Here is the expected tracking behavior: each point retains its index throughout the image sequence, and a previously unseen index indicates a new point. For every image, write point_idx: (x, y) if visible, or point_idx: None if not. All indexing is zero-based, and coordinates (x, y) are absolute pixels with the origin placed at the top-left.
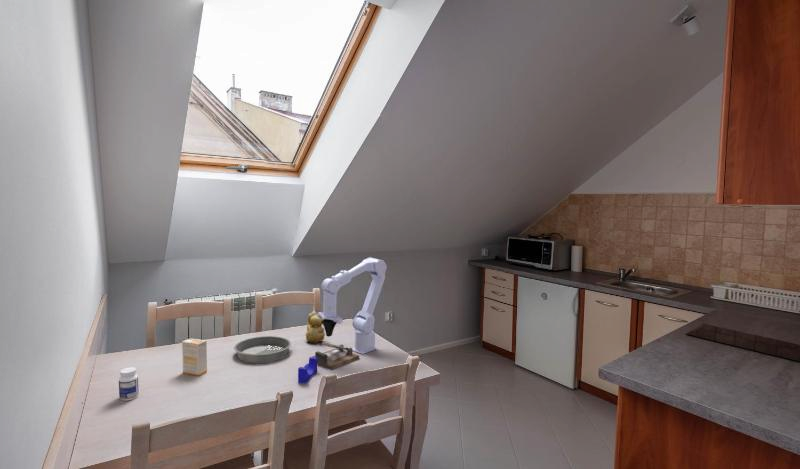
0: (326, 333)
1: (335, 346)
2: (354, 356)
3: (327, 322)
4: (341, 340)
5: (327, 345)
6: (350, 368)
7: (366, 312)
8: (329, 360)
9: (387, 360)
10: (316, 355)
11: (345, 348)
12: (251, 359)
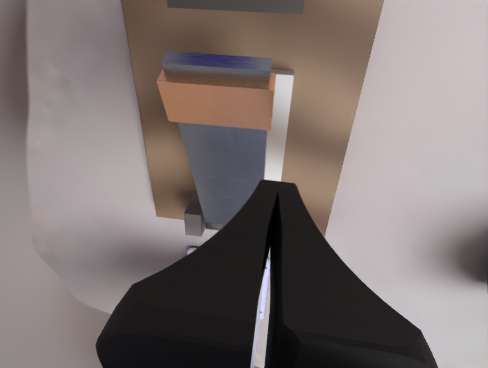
0: (286, 195)
1: (185, 141)
2: (159, 192)
3: (138, 328)
4: None
5: (180, 56)
6: (81, 81)
7: None
8: (213, 53)
9: (74, 246)
10: None
11: (202, 208)
12: None
